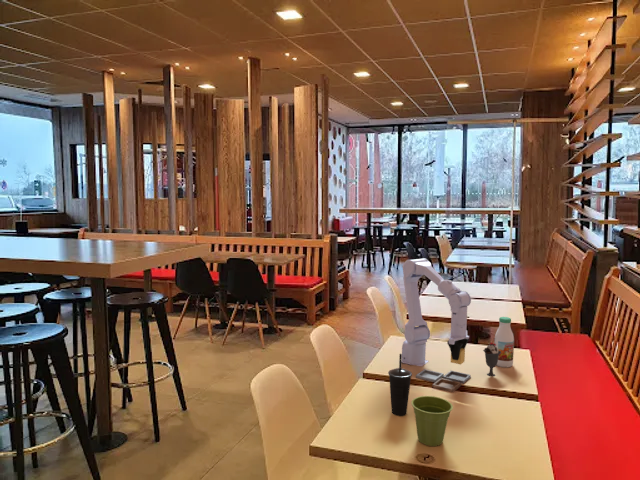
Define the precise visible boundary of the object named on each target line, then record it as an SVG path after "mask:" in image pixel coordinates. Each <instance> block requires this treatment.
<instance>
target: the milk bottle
mask: <svg viewBox="0 0 640 480" xmlns="http://www.w3.org/2000/svg"><path fill="white" fill-rule="evenodd" d="M498 323H499V326H498V327H497V330H496V332H495V334H494V338H495V342H494V341H493V344H496V347H497V348H498V350H499V351H501V354H499V357H498V362H497V365H496V366H497V367H500V368H511V367H513V365H514V355H515V353H514V351H515V350H514V349H515V348H514V347H515V337H514V333H513V330H512V328H511V324H512V318H511V317H508V316H499V319H498Z"/></svg>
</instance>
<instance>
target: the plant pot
mask: <svg viewBox="0 0 640 480" xmlns="http://www.w3.org/2000/svg"><path fill="white" fill-rule="evenodd" d="M411 406H412V407H413V413H414V418H415V424H416V434H417V440H418V442H419V443H421V444H423V445H425V446H428V445H429V446H428V447H437V445H438V446H440V445H442V444H443V442H444V437H445V433H446V430H447V429H446V428H447V426H448V425H447V424H448V421H449V418H450V415H451V411H453V409H454V406H453V404H452V402H450V401H449V400H447V399H446V398H445V399H444V398H442V397H438V396H432V395H421V396H417V397H415V398H413V399H412V400H411Z"/></svg>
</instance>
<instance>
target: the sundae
mask: <svg viewBox="0 0 640 480" xmlns="http://www.w3.org/2000/svg"><path fill="white" fill-rule="evenodd" d="M494 342H495V337H493V340H492V342H490V343H489V344H488V345H487V346H486V347H485V348H484V349H483V350H482V351H483V352H484V356H485V364H486V365H487V366H488V368H489V371H488V373H486V376H488V377H496V374H494V372H493V371H494V368H495V367H496V366H497V362H498V357H499V354H501V351H499V350H498V348H497V347H496V344H494Z"/></svg>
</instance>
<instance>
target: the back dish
mask: <svg viewBox="0 0 640 480" xmlns="http://www.w3.org/2000/svg"><path fill="white" fill-rule="evenodd" d="M471 377H472V376H471V374H469V373H463V372H460V371H455V370H450V371H448V372H447V373H446V374H444V376H443V377H442V378H443V379H447V380H451V381H456V382H460V383H461V385H462V384H463V385H464V384H465V383H466V382H467V381H469V379H471Z"/></svg>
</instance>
